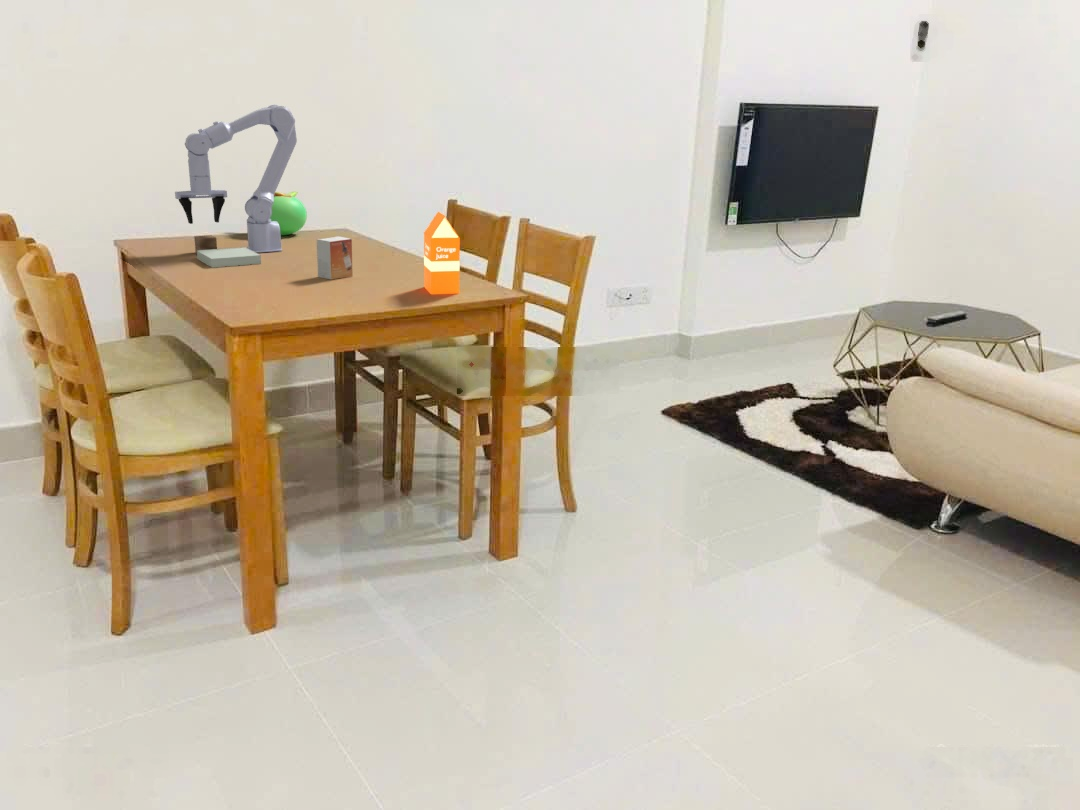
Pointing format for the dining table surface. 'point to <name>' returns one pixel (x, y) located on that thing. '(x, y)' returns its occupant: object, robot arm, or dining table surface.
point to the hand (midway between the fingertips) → (203, 222)
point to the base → (228, 257)
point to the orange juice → (441, 257)
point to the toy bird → (288, 212)
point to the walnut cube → (205, 242)
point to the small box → (334, 257)
